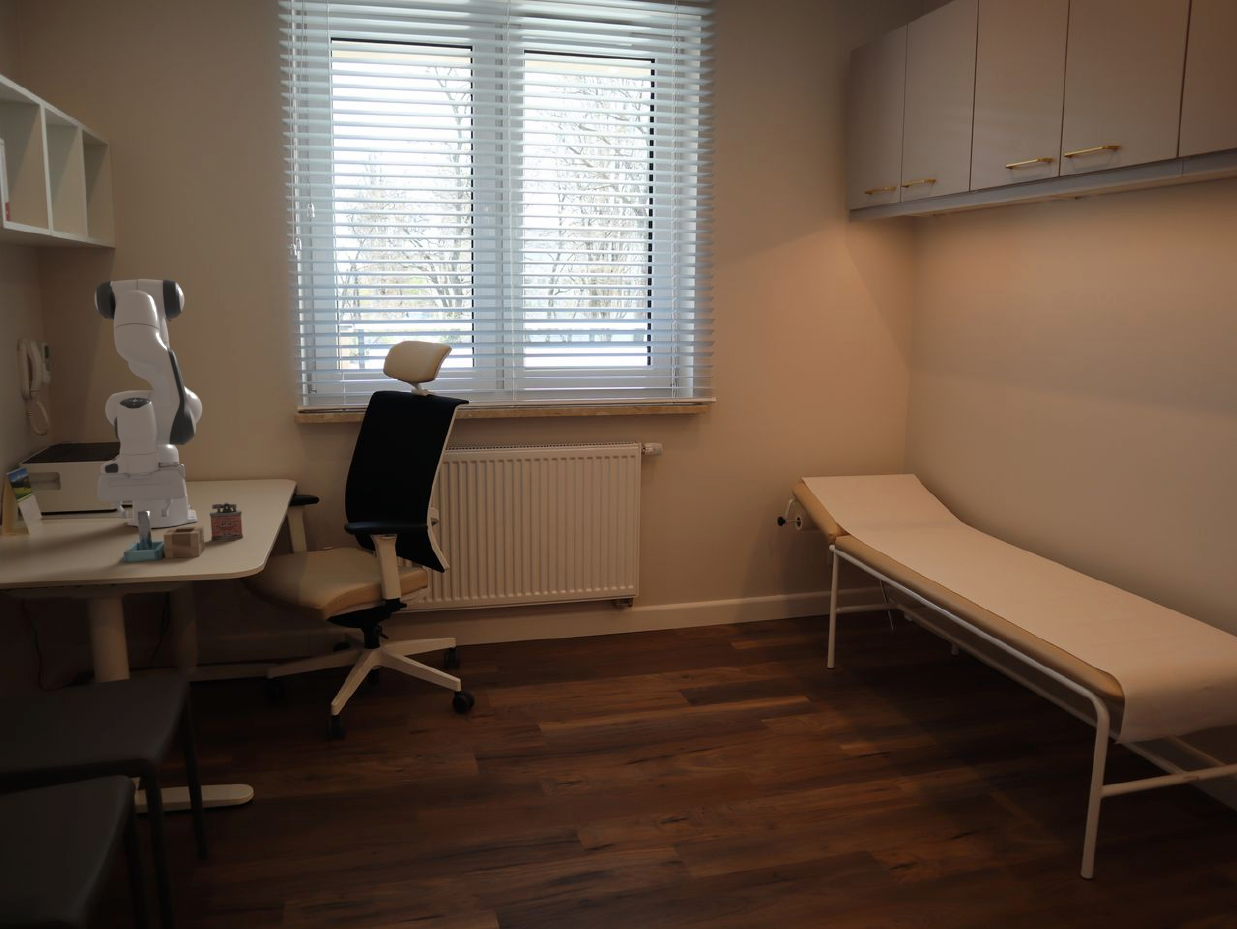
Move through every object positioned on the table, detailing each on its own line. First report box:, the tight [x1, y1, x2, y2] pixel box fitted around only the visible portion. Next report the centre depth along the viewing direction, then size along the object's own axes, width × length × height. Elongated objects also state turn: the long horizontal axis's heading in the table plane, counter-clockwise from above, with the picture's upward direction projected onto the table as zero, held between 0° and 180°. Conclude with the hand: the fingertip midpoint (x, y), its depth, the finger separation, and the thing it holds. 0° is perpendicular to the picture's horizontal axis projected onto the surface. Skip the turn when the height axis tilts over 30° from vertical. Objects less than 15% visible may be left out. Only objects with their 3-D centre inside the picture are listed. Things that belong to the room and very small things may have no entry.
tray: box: [123, 540, 165, 563], centre depth 251 cm, size 11×8×2 cm
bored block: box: [163, 526, 206, 559], centre depth 253 cm, size 8×8×6 cm
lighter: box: [209, 501, 244, 542], centre depth 269 cm, size 8×3×10 cm, turn 111°
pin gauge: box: [137, 510, 153, 551], centre depth 250 cm, size 3×3×11 cm
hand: (144, 517), depth 250 cm, fingers open, 8 cm apart
